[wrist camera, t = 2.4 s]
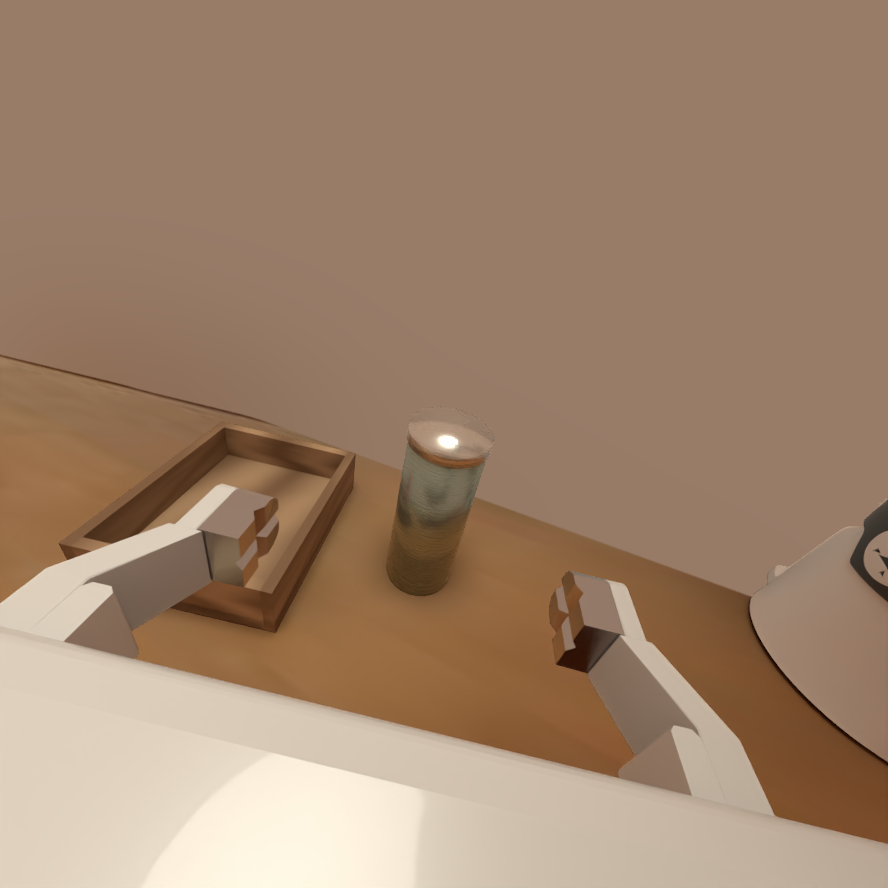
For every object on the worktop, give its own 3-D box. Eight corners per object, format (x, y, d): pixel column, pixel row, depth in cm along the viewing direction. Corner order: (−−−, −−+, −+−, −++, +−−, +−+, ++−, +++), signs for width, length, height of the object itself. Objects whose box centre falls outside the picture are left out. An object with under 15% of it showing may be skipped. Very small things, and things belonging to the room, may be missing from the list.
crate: (352, 487, 35) (355, 453, 33) (275, 632, 23) (271, 593, 21) (226, 457, 35) (221, 421, 33) (81, 586, 23) (58, 543, 21)
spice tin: (453, 549, 31) (494, 418, 24) (446, 604, 27) (493, 462, 20) (394, 535, 31) (417, 400, 24) (377, 587, 27) (400, 440, 20)
